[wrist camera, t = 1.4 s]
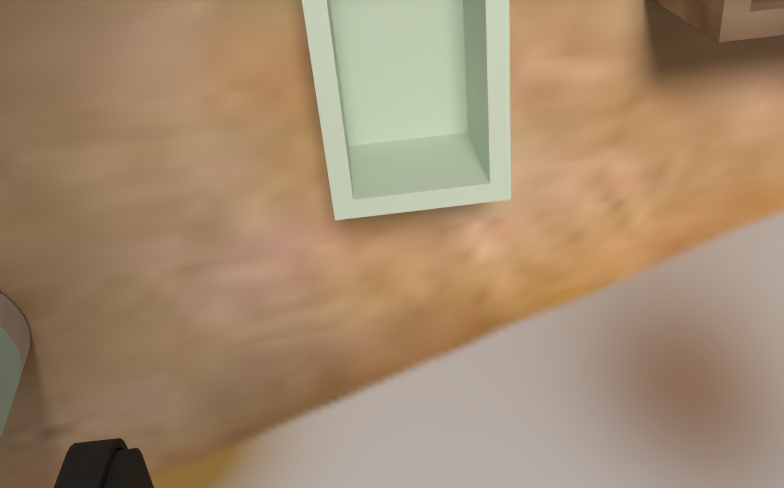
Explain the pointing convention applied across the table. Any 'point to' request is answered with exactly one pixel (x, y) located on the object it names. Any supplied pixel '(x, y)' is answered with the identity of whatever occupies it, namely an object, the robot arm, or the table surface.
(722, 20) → the walnut crate
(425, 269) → the table surface
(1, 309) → the coffee cup
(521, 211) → the table surface
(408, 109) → the sage crate
